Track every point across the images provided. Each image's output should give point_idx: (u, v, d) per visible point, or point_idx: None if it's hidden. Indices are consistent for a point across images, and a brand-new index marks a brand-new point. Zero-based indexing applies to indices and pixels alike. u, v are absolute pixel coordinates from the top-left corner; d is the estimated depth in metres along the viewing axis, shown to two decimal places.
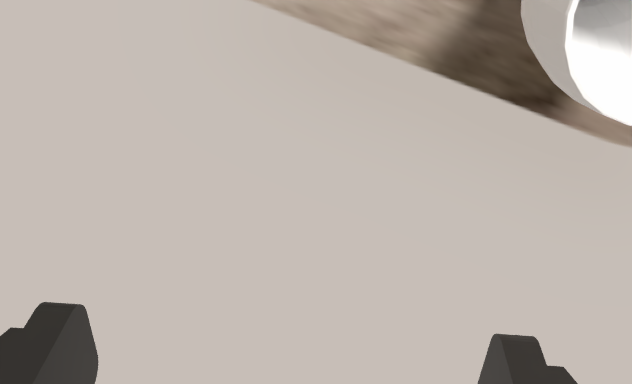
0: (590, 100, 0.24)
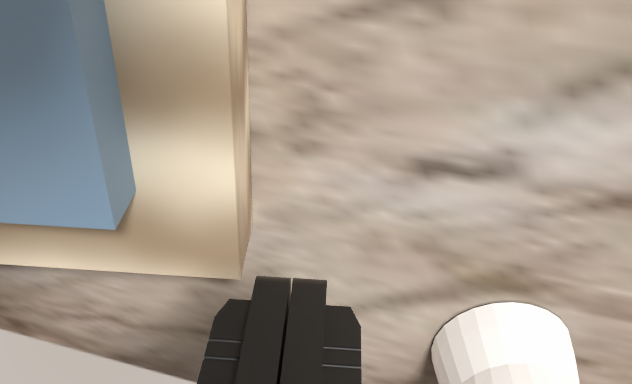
0: None
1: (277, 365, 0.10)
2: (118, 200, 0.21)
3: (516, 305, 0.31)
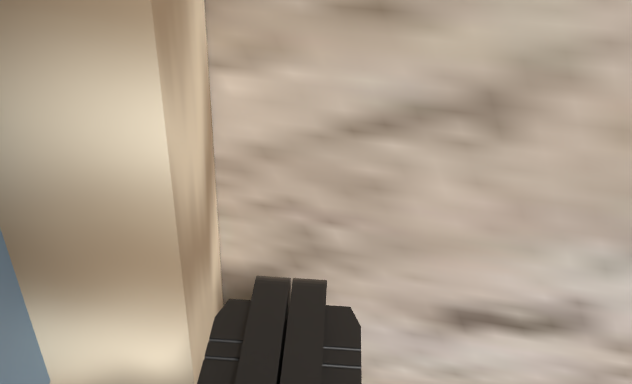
0: None
1: (277, 365, 0.10)
2: None
3: None
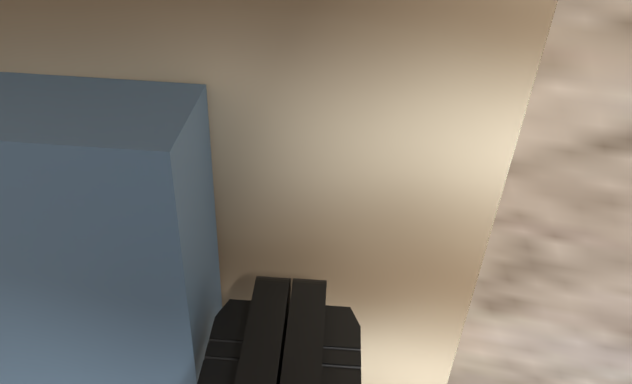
0: None
1: (277, 365, 0.10)
2: None
3: None
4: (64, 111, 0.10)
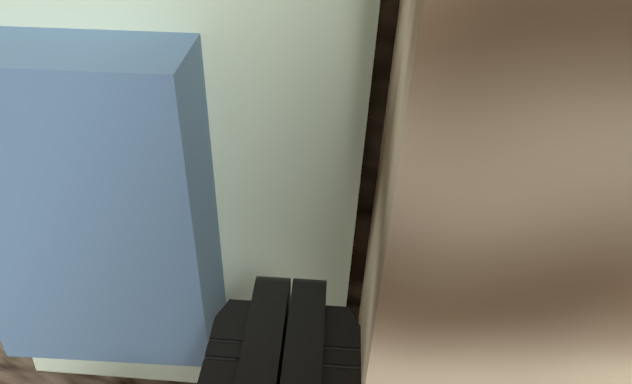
0: None
1: (277, 365, 0.10)
2: None
3: None
4: (15, 43, 0.13)
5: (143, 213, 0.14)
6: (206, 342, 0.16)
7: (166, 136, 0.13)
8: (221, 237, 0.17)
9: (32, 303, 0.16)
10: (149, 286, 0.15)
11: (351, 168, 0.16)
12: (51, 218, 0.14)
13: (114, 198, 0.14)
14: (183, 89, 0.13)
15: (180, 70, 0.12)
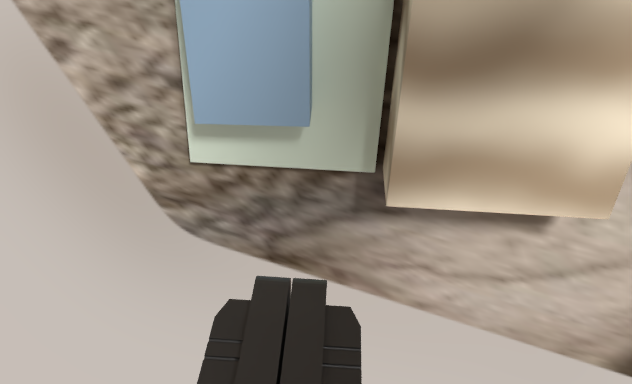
0: None
1: (277, 365, 0.10)
2: None
3: None
4: None
5: (284, 21, 0.27)
6: (308, 108, 0.30)
7: None
8: (313, 57, 0.31)
9: (216, 84, 0.29)
10: (282, 70, 0.29)
11: (387, 8, 0.29)
12: (236, 27, 0.27)
13: (271, 12, 0.27)
14: None
15: None
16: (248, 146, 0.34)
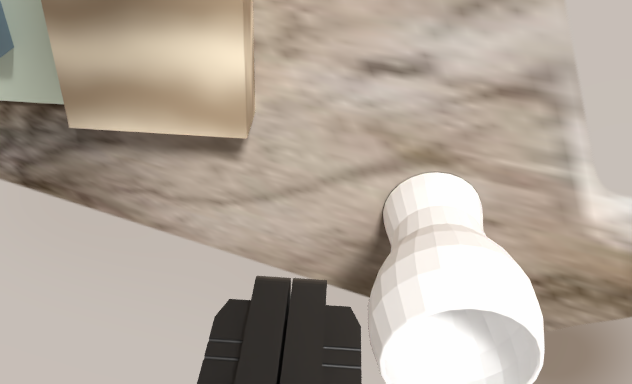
0: None
1: (277, 365, 0.10)
2: None
3: (439, 174, 0.44)
4: None
5: None
6: None
7: None
8: (2, 6, 0.38)
9: None
10: None
11: None
12: None
13: None
14: None
15: None
16: None
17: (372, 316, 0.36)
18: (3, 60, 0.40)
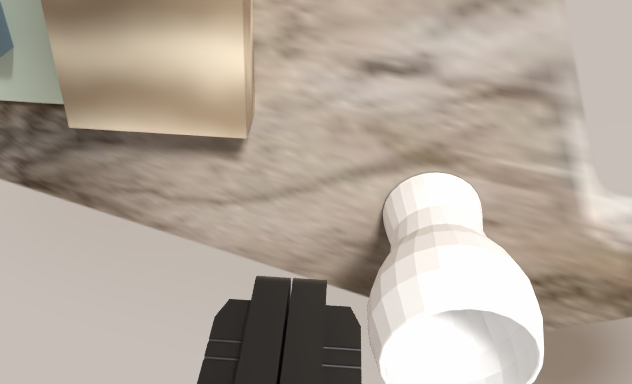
0: None
1: (277, 365, 0.10)
2: None
3: (439, 174, 0.44)
4: None
5: None
6: None
7: None
8: (2, 5, 0.38)
9: None
10: None
11: None
12: None
13: None
14: None
15: None
16: None
17: (372, 316, 0.36)
18: (3, 59, 0.40)
